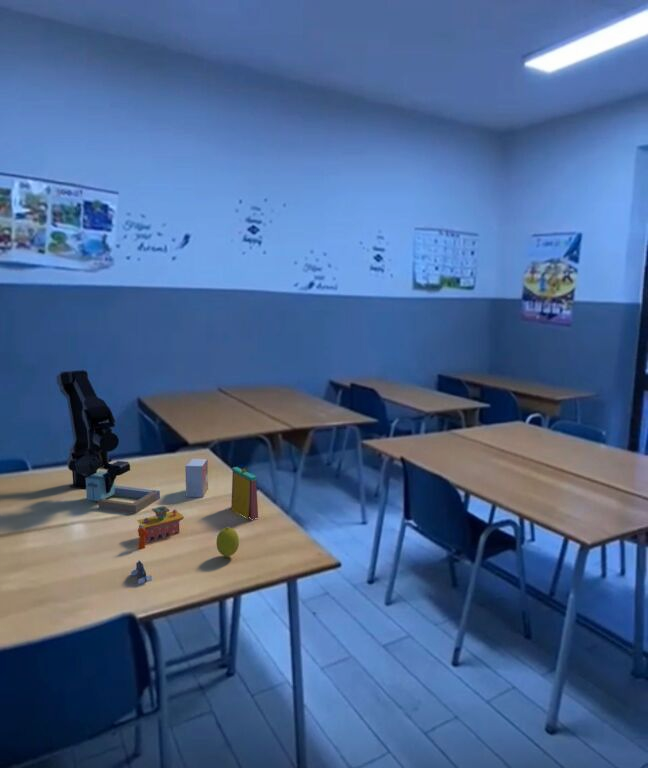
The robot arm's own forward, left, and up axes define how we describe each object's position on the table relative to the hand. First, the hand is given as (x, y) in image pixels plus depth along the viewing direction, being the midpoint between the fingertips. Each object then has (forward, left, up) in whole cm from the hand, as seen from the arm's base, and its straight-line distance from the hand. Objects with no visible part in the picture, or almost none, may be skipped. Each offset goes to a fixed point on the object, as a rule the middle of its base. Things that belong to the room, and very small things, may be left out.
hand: (100, 491), depth 179 cm
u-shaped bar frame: (+7, 0, -3) cm, 7 cm away
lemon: (+55, -24, -3) cm, 60 cm away
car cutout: (+44, -41, -3) cm, 60 cm away
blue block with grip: (0, 0, -2) cm, 2 cm away
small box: (+26, +14, -3) cm, 30 cm away
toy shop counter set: (+38, -10, -3) cm, 39 cm away
